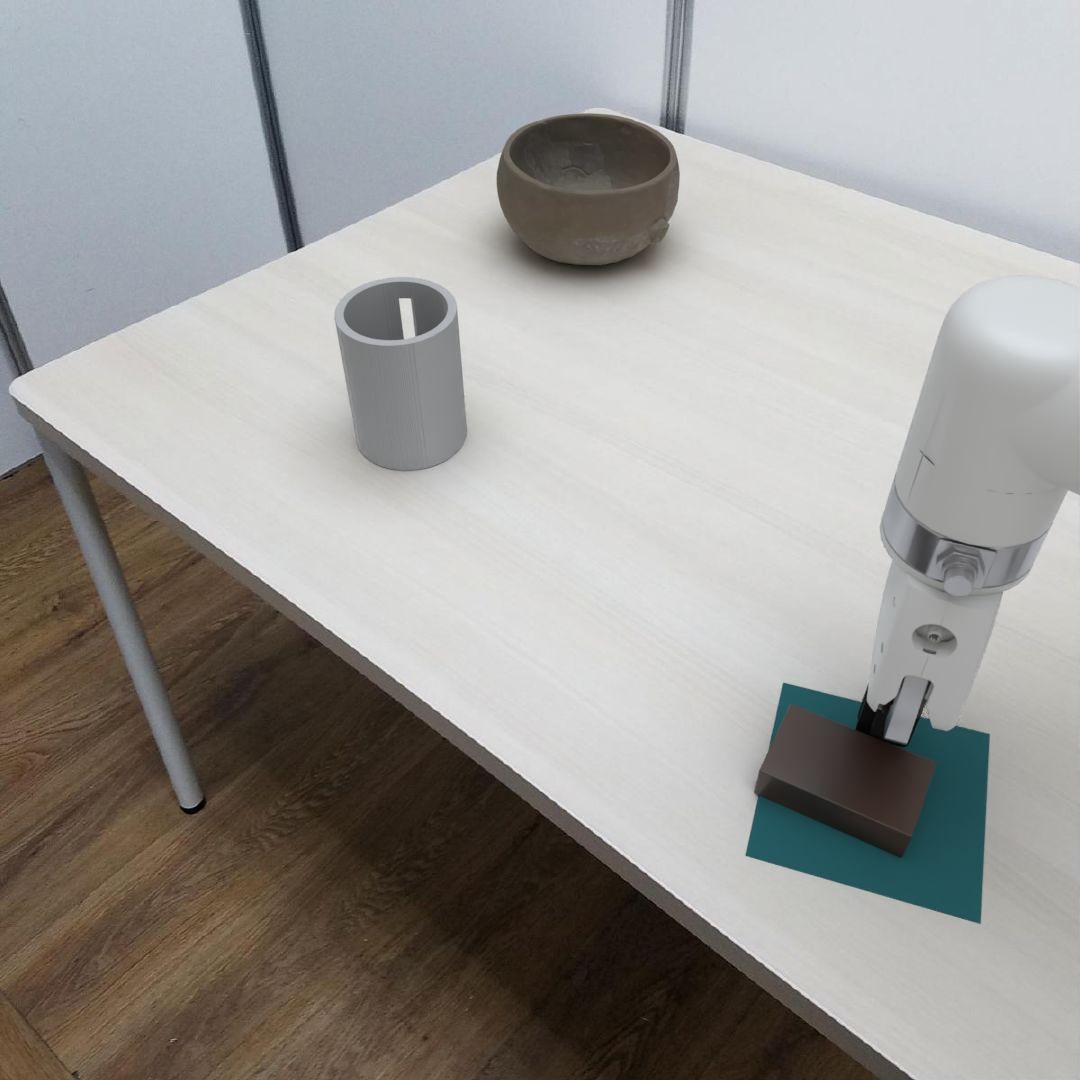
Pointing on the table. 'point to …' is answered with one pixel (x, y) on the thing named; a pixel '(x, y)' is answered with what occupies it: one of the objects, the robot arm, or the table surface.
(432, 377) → the cup
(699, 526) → the table surface
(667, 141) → the bowl
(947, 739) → the mat
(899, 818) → the walnut block
